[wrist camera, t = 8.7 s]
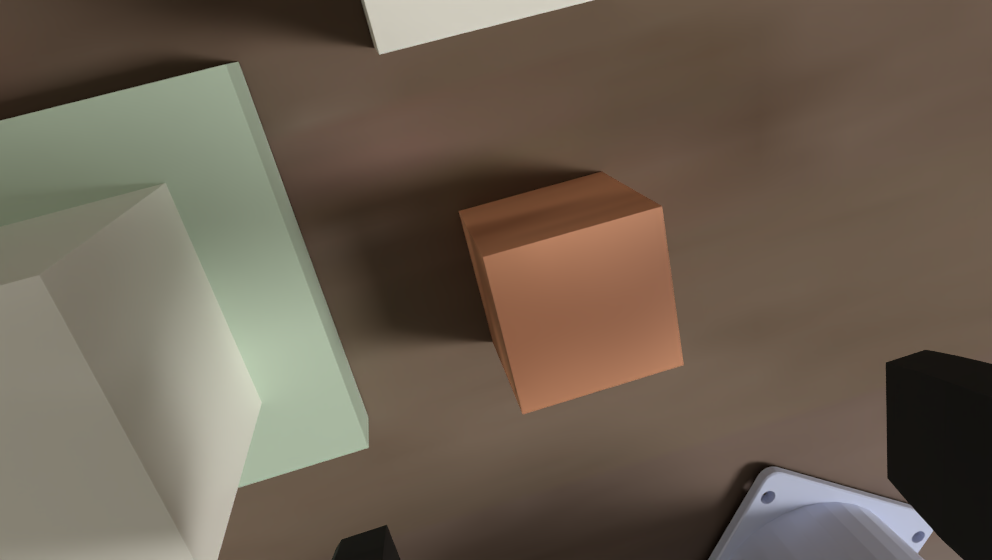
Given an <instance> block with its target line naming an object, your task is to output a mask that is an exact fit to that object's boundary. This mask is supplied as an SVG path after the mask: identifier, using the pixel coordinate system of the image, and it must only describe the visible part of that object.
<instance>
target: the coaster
mask: <svg viewBox="0 0 992 560" xmlns="http://www.w3.org/2000/svg"><path fill="white" fill-rule="evenodd" d="M163 183H166V185H167V187H168V190H169V192H170V194H171V197H172V199H173V201H174V203H175V206H176V208H177V210H178V213H179V215H180V217H181V219H182V222H183V224H184V226H185V229H186V231H187V233H188V235H189V238H190V240H191V242H192V245H193V247H194V249H195V251H196V254H197V256H198V258H199V261H200V263H201V265H202V267H203V270H204V272H205V274H206V277H207V279H208V281H209V283H210V286H211V288H212V290H213V293H214V295H215V297H216V299H217V302H218V304H219V306H220V309H221V311H222V313H223V315H224V318H225V320H226V322H227V324H228V327H229V329H230V331H231V334H232V336H233V338H234V340H235V343H236V345H237V347H238V350H239V352H240V354H241V356H242V359H243V361H244V363H245V366H246V368H247V370H248V372H249V375H250V377H251V379H252V382H253V384H254V386H255V388H256V391H257V393H258V395H259V398H260V400H261V402H262V404H261V408H260V411H259V415H258V418H257V422H256V425H255V429H254V432H253V436H252V439H251V443H250V446H249V450H248V453H247V457H246V460H245V464H244V468H243V471H242V475H241V478H240V482H239V485H238V488H239V487H242V486H246V485H249V484H252V483H255V482H259V481H262V480H265V479H268V478H272V477H275V476H278V475H281V474H285V473H288V472H291V471H294V470H298V469H301V468H304V467H307V466H311V465H314V464H317V463H321V462H324V461H327V460H330V459H334V458H337V457H340V456H343V455H347V454H350V453H353V452H356V451H360V450H363V449H366V448H369V440H368V415H367V413H366V410H365V407H364V404H363V402H362V399H361V396H360V393H359V391H358V388H357V385H356V382H355V380H354V377H353V374H352V371H351V369H350V366H349V363H348V361H347V358H346V355H345V352H344V350H343V347H342V344H341V341H340V339H339V336H338V333H337V330H336V328H335V325H334V322H333V319H332V317H331V314H330V311H329V308H328V306H327V303H326V300H325V297H324V295H323V292H322V289H321V287H320V284H319V281H318V278H317V276H316V273H315V270H314V267H313V265H312V262H311V259H310V256H309V254H308V251H307V248H306V245H305V243H304V240H303V237H302V234H301V232H300V229H299V226H298V224H297V221H296V218H295V215H294V213H293V210H292V207H291V204H290V202H289V199H288V196H287V193H286V191H285V188H284V185H283V182H282V180H281V177H280V174H279V171H278V169H277V166H276V163H275V160H274V158H273V155H272V152H271V150H270V147H269V144H268V141H267V139H266V136H265V133H264V130H263V128H262V125H261V122H260V119H259V117H258V114H257V111H256V108H255V106H254V103H253V100H252V97H251V95H250V92H249V89H248V86H247V84H246V81H245V78H244V76H243V73H242V70H241V67H240V65H239V62H235V63H230V64H225V65H221V66H217V67H213V68H209V69H205V70H201V71H197V72H193V73H189V74H185V75H181V76H177V77H173V78H169V79H165V80H161V81H157V82H153V83H149V84H145V85H141V86H137V87H133V88H129V89H125V90H121V91H117V92H113V93H109V94H105V95H101V96H97V97H93V98H89V99H85V100H81V101H77V102H73V103H69V104H65V105H61V106H57V107H53V108H49V109H45V110H41V111H37V112H33V113H29V114H25V115H21V116H17V117H13V118H9V119H5V120H1V121H0V227H1V226H5V225H9V224H12V223H16V222H20V221H24V220H27V219H31V218H35V217H39V216H42V215H46V214H50V213H54V212H58V211H61V210H65V209H69V208H73V207H76V206H80V205H84V204H88V203H91V202H95V201H99V200H103V199H106V198H110V197H114V196H118V195H121V194H125V193H129V192H133V191H136V190H140V189H144V188H148V187H152V186H155V185H159V184H163Z"/></svg>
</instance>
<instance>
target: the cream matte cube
mask: <svg viewBox="0 0 992 560" xmlns="http://www.w3.org/2000/svg"><path fill="white" fill-rule="evenodd" d="M261 404H262V402H261V400H260V398H259V395H258V393H257V391H256V388H255V386H254V384H253V382H252V379H251V377H250V375H249V372H248V370H247V368H246V366H245V363H244V361H243V359H242V356H241V354H240V352H239V350H238V347H237V345H236V343H235V340H234V338H233V336H232V334H231V331H230V329H229V327H228V324H227V322H226V320H225V318H224V315H223V313H222V311H221V309H220V306H219V304H218V302H217V299H216V297H215V295H214V293H213V290H212V288H211V286H210V283H209V281H208V279H207V277H206V274H205V272H204V270H203V267H202V265H201V263H200V261H199V258H198V256H197V254H196V251H195V249H194V247H193V245H192V242H191V240H190V238H189V235H188V233H187V231H186V229H185V226H184V224H183V222H182V219H181V217H180V215H179V213H178V210H177V208H176V206H175V203H174V201H173V199H172V197H171V194H170V192H169V190H168V187H167V185H166V183H163V184H159V185H155V186H152V187H148V188H144V189H140V190H136V191H133V192H129V193H125V194H121V195H118V196H114V197H110V198H106V199H103V200H99V201H95V202H91V203H88V204H84V205H80V206H76V207H73V208H69V209H65V210H61V211H58V212H54V213H50V214H46V215H42V216H39V217H35V218H31V219H27V220H24V221H20V222H16V223H12V224H9V225H5V226H1V227H0V560H217V559H218V556H219V552H220V549H221V545H222V542H223V538H224V535H225V531H226V527H227V524H228V520H229V517H230V513H231V510H232V506H233V503H234V499H235V496H236V492H237V489H238V485H239V482H240V478H241V475H242V471H243V468H244V464H245V460H246V457H247V453H248V450H249V446H250V443H251V439H252V436H253V432H254V429H255V425H256V422H257V418H258V415H259V411H260V408H261Z"/></svg>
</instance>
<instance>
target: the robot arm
mask: <svg viewBox="0 0 992 560" xmlns="http://www.w3.org/2000/svg"><path fill="white" fill-rule="evenodd" d="M886 405H887V473H888V479H889V480H890V481H891V483H892V484H893V485H894V486H895V487H896V489H897V490H898V491H899V492H900V493H901V494H902V496H903V497H904V498H905V499H906V500H907V501H908V503H909V504H907V503H903V502H900V501H896V500H892V499H889V498H885V497H882V496H878V495H875V494H871V493H868V492H864V491H861V490H857V489H853V488H850V487H846V486H843V485H839V484H836V483H832V482H829V481H825V480H822V479H818V478H815V477H811V476H807V475H804V474H800V473H797V472H793V471H790V470H786V469H783V468H779V467H768V468H765V469H764V470H762V471H761V472H760V473H759V475H758V476H757V478H756V479H755V481H754V483H753V485H752V486H751V488H750V490H749V491H748V493H747V495H746V496H745V498H744V500H743V501H742V503H741V505H740V507H739V508H738V510H737V512H736V513H735V515H734V517H733V518H732V520H731V522H730V523H729V525H728V527H727V528H726V530H725V532H724V534H723V535H722V537H721V539H720V540H719V542H718V544H717V545H716V547H715V549H714V550H713V552H712V554H711V556H710V557H709V559H708V560H924V559H923V558H922V557H921V556H920V555H919V554H918V552H919V550H920V549H921V548H922V546H923V545H924V543H925V542H926V540H927V539H928V537H929V536H930V535H931V533H932V532H933V530H934V531H935V533H936V534H937V535H938V536H939V537H940V538H941V539H942V540H943V541H944V542H945V543H946V544H947V545H948V546H949V547H950V548H952V549H953V550H954V551H955V552H956V553H957V554H958V555H959V556H960V557H961V558H962V559H964V560H992V364H990V363H986V362H981V361H977V360H973V359H969V358H964V357H960V356H955V355H950V354H945V353H940V352H935V351H929V350H923V351H920V352H917V353H914V354H911V355H908V356H905V357H902V358H899V359H896V360H893V361H890V362H886ZM767 491H768V492H767ZM765 492H767V493H766V494H765V495H763V494H764V493H765ZM762 495H763V496H762ZM332 560H400V557H399V555H398V552H397V550H396V547H395V545H394V542H393V540H392V537H391V535H390V532H389V529H388V527H387V525H385V526H382V527H379V528H376V529H373V530H370V531H367V532H364V533H360V534H357V535H354V536H351V537H348V538H345V539H342V540H341V542H340V543H339V545H338V546H337V548H336V550H335V553H334V555H333V558H332Z"/></svg>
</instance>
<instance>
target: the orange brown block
mask: <svg viewBox="0 0 992 560" xmlns="http://www.w3.org/2000/svg"><path fill="white" fill-rule="evenodd" d="M459 215H460V218H461V222H462V226H463V230H464V234H465V238H466V241H467V245H468V249H469V253H470V257H471V260H472V264H473V268H474V272H475V276H476V280H477V283H478V287H479V291H480V295H481V299H482V302H483V306H484V310H485V314H486V318H487V322H488V325H489V329H490V333H491V337H492V341H493V344H494V346H495V348H496V351H497V353H498V356H499V358H500V360H501V363H502V365H503V368H504V370H505V373H506V375H507V377H508V380H509V382H510V385H511V387H512V389H513V392H514V394H515V397H516V399H517V401H518V404H519V406H520V409H521V411H522V414H526V413H529V412H532V411H535V410H539V409H542V408H545V407H548V406H552V405H555V404H558V403H561V402H565V401H568V400H571V399H574V398H578V397H581V396H584V395H587V394H591V393H594V392H597V391H600V390H604V389H607V388H610V387H614V386H617V385H620V384H623V383H627V382H630V381H633V380H636V379H640V378H643V377H646V376H649V375H653V374H656V373H659V372H662V371H666V370H669V369H672V368H675V367H679V366H682V365H684V364H683V356H682V349H681V342H680V334H679V327H678V320H677V313H676V305H675V298H674V291H673V283H672V276H671V269H670V261H669V254H668V247H667V239H666V232H665V225H664V217H663V210H662V206H661V205H659V204H657V203H655V202H654V201H652V200H650V199H648V198H647V197H645V196H643V195H641V194H640V193H638V192H636V191H634V190H633V189H631V188H629V187H628V186H626V185H624V184H622V183H621V182H619V181H617V180H615V179H614V178H612V177H610V176H608V175H607V174H605V173H603V172H598V173H594V174H591V175H587V176H584V177H580V178H576V179H573V180H569V181H565V182H562V183H558V184H555V185H551V186H547V187H544V188H540V189H537V190H533V191H529V192H526V193H522V194H518V195H515V196H511V197H508V198H504V199H500V200H497V201H493V202H490V203H486V204H482V205H479V206H475V207H471V208H468V209H464V210H461V211H459Z"/></svg>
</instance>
